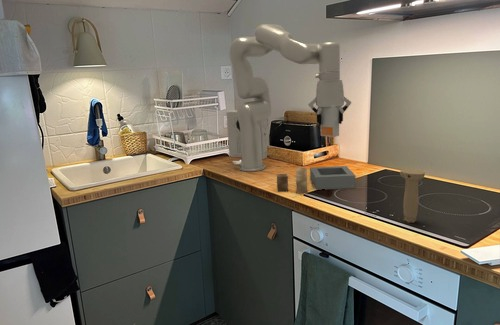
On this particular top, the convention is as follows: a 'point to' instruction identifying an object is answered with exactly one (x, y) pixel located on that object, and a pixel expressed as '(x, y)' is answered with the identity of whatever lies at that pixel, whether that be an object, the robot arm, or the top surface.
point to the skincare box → (330, 121)
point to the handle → (411, 193)
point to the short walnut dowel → (282, 182)
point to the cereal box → (235, 135)
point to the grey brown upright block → (301, 180)
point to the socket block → (332, 177)
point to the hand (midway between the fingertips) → (329, 123)
